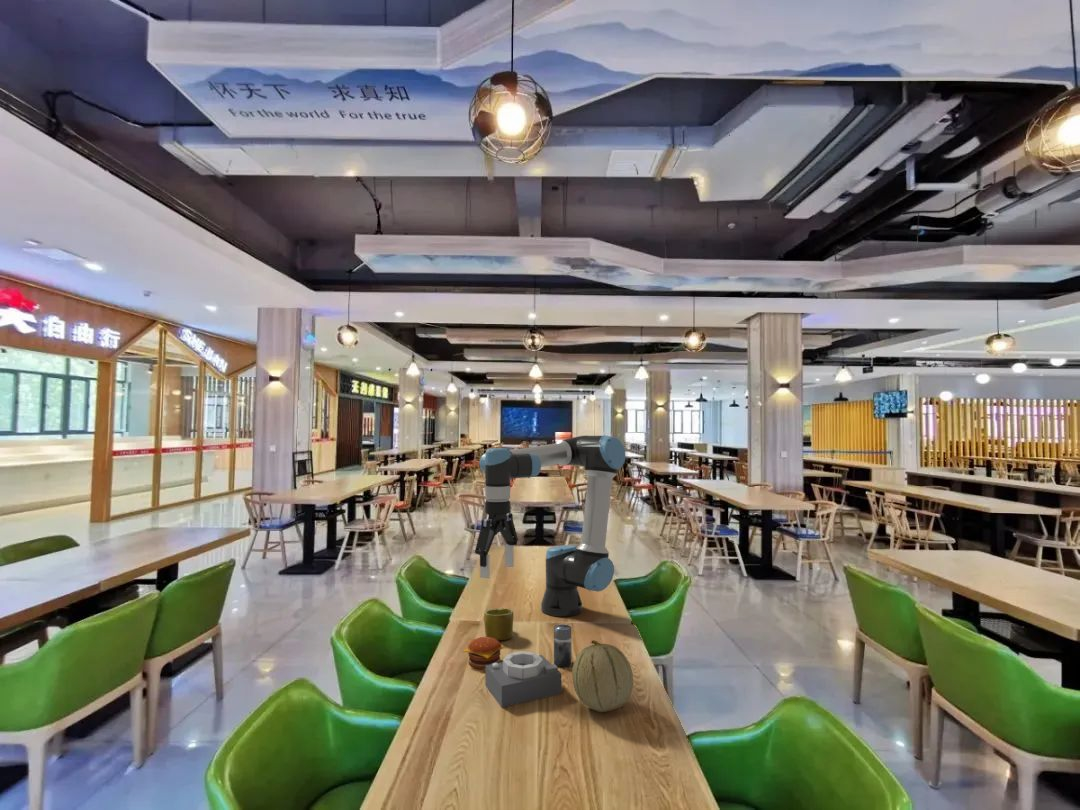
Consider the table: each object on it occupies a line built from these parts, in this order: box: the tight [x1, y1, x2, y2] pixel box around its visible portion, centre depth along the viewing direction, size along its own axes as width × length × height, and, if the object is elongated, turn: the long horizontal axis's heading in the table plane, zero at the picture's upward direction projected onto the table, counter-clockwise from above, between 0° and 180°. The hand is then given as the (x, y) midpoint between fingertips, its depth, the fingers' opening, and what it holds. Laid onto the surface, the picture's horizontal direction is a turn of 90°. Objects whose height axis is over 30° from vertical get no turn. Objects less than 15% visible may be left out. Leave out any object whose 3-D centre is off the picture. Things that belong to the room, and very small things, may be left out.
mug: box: [483, 607, 514, 642], centre depth 170 cm, size 12×10×10 cm
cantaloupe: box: [571, 639, 634, 713], centre depth 126 cm, size 15×15×15 cm
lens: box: [553, 624, 573, 669], centre depth 150 cm, size 5×5×10 cm
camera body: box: [485, 650, 562, 708], centre depth 135 cm, size 16×12×8 cm
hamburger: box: [462, 636, 506, 670], centre depth 151 cm, size 9×10×7 cm
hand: (497, 571), depth 157 cm, fingers open, 13 cm apart
